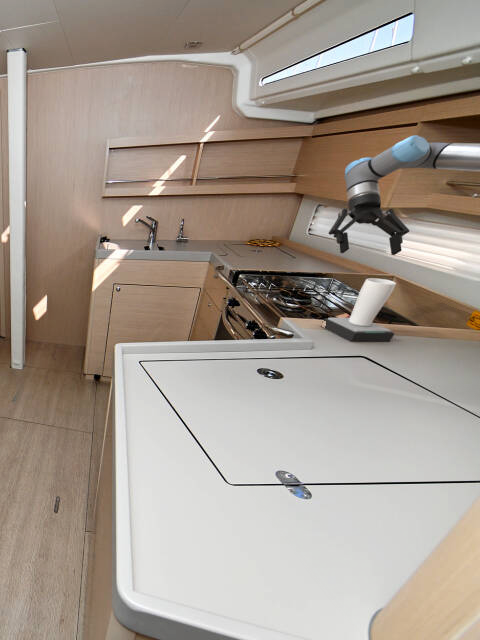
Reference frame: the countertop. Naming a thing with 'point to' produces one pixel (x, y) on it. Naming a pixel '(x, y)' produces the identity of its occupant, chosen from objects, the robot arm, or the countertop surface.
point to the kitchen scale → (358, 331)
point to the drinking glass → (370, 300)
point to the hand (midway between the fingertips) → (370, 252)
